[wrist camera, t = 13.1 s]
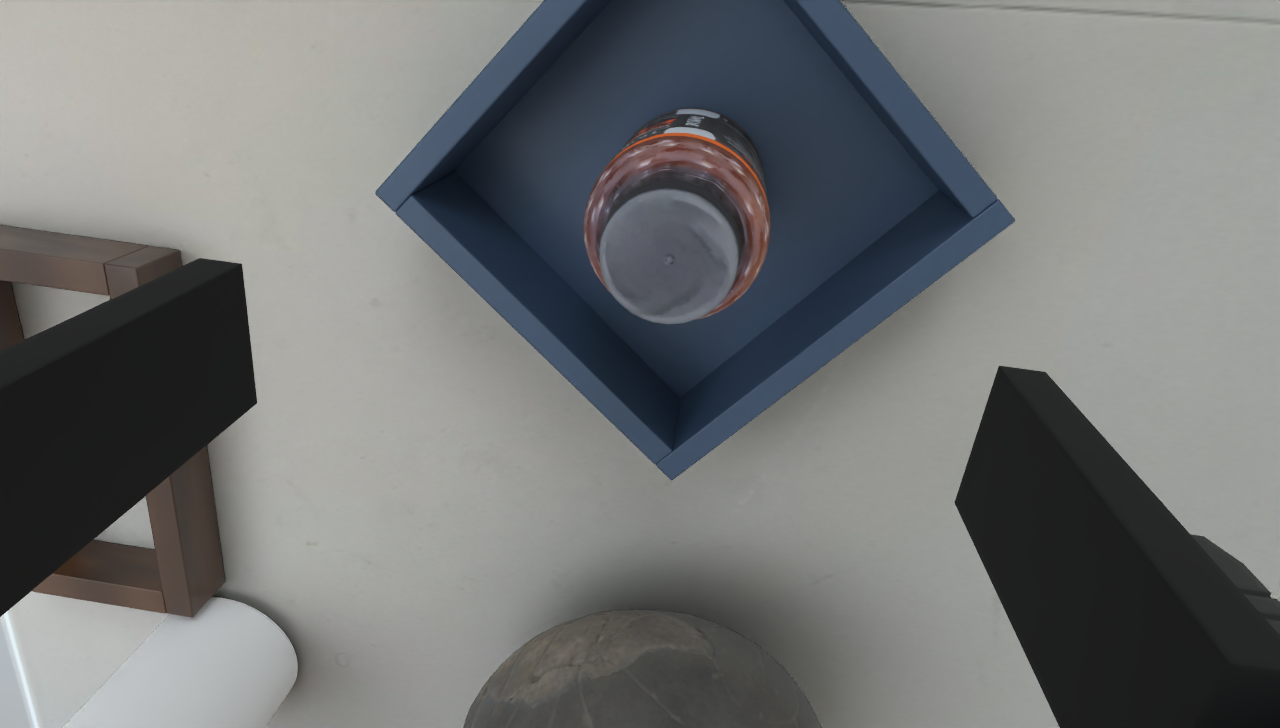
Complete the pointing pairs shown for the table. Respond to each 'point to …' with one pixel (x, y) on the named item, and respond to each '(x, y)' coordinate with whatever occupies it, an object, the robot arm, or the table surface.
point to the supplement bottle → (680, 217)
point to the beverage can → (199, 674)
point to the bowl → (640, 678)
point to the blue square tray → (795, 183)
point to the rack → (176, 506)
